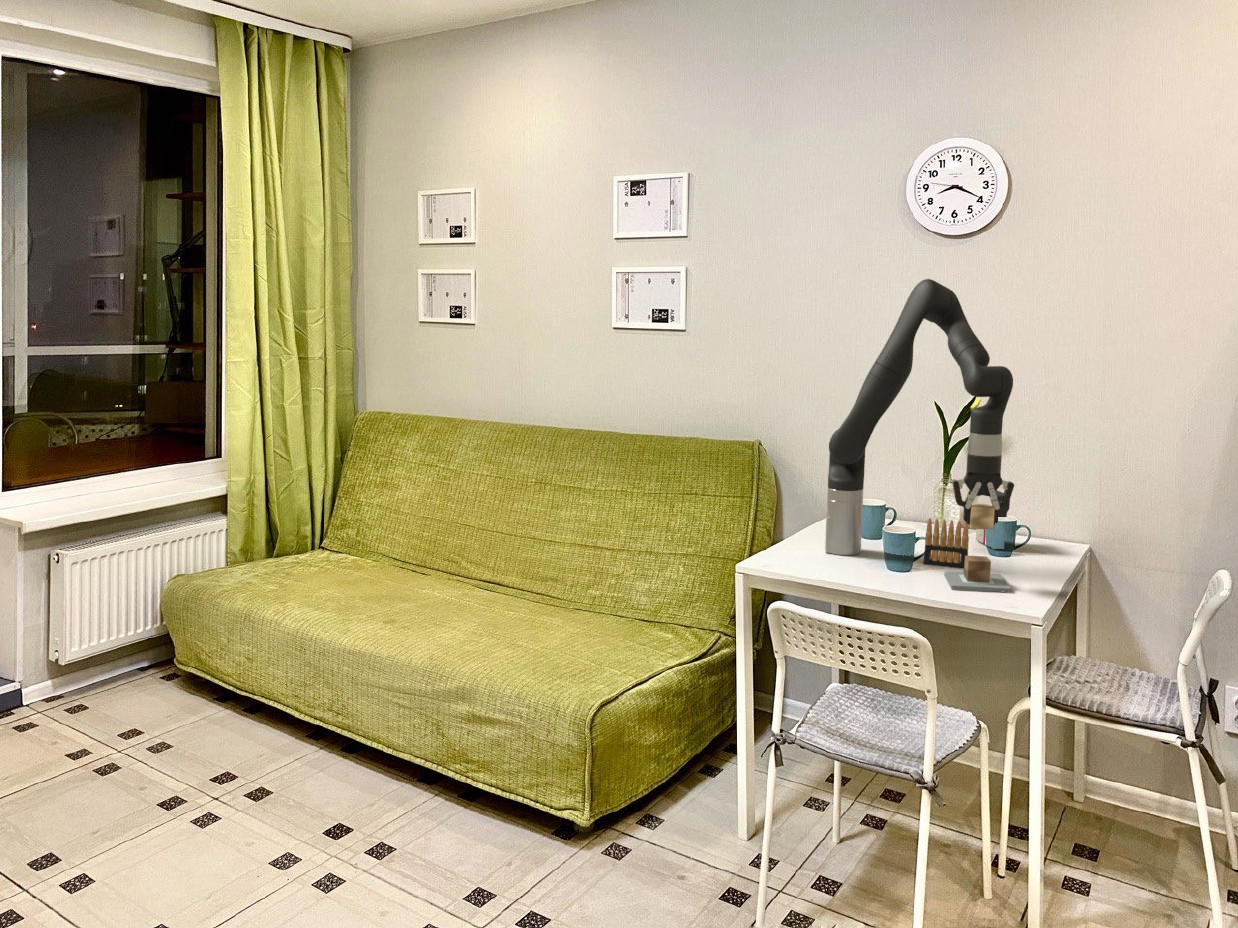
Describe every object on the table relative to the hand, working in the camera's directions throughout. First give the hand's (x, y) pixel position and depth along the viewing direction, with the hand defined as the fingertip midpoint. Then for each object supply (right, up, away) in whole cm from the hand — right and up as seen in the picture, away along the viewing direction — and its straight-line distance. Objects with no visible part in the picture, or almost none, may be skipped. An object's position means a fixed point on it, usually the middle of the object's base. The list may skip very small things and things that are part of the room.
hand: (980, 523), depth 238 cm
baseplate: (0, -14, +2) cm, 14 cm away
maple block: (0, -1, 0) cm, 1 cm away
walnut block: (0, -13, +2) cm, 13 cm away
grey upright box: (+17, -9, +40) cm, 45 cm away
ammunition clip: (-2, -12, +19) cm, 22 cm away
